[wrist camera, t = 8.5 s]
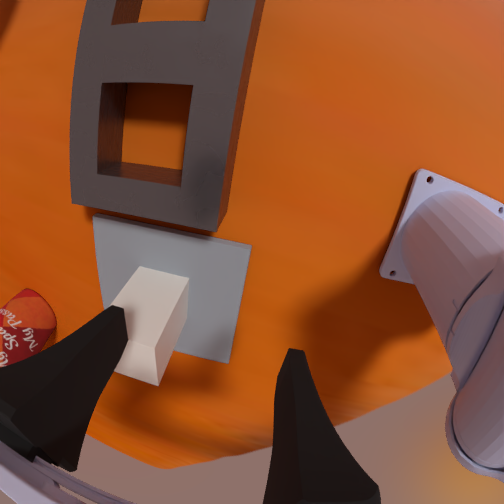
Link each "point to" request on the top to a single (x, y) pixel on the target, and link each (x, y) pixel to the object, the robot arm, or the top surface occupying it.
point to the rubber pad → (182, 264)
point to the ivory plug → (151, 322)
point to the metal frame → (161, 71)
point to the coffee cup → (24, 326)
